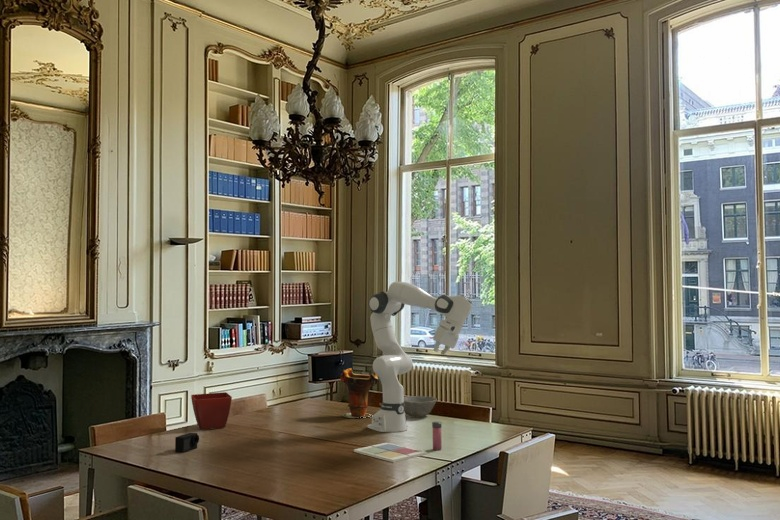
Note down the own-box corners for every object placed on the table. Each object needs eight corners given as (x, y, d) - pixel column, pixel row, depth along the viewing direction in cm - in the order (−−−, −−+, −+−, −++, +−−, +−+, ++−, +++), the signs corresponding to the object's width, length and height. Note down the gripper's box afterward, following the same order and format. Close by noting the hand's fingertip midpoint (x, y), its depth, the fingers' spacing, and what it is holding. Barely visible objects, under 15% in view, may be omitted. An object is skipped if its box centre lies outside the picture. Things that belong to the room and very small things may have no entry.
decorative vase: (378, 419, 362) (377, 370, 363) (338, 419, 362) (338, 371, 364) (379, 413, 382) (378, 367, 384) (341, 413, 382) (341, 367, 384)
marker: (430, 449, 289) (430, 422, 289) (436, 447, 291) (436, 421, 292) (437, 450, 285) (437, 423, 286) (443, 449, 288) (443, 422, 289)
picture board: (353, 451, 285) (353, 449, 285) (386, 444, 298) (386, 442, 299) (393, 462, 266) (393, 459, 266) (426, 454, 279) (426, 451, 280)
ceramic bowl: (400, 412, 383) (399, 395, 384) (438, 413, 380) (438, 396, 381) (395, 419, 361) (395, 401, 362) (435, 420, 358) (435, 402, 359)
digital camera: (185, 453, 285) (185, 437, 285) (175, 452, 287) (175, 436, 287) (199, 448, 295) (199, 433, 295) (189, 447, 296) (189, 432, 297)
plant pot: (194, 432, 331) (195, 399, 332) (190, 425, 349) (190, 394, 350) (232, 428, 339) (232, 396, 340) (226, 422, 356) (226, 392, 357)
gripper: (454, 328, 317) (441, 353, 317) (438, 320, 300) (425, 346, 299) (464, 333, 314) (452, 359, 313) (449, 326, 297) (436, 352, 296)
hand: (438, 352), depth 306 cm, fingers open, 8 cm apart
